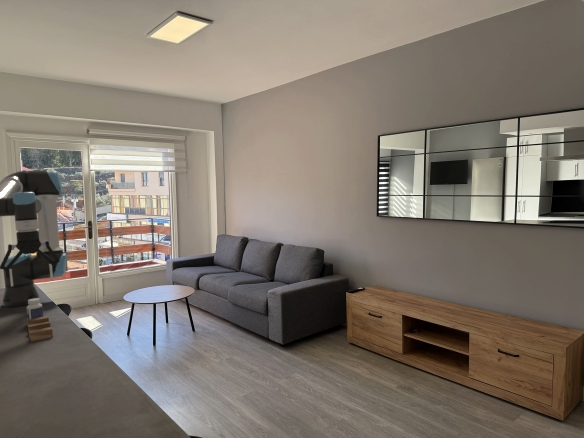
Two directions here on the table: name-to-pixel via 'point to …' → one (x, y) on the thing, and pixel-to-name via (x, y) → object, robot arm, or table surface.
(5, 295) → the robot arm
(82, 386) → the table surface
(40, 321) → the brown wooden rack
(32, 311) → the pill bottle
